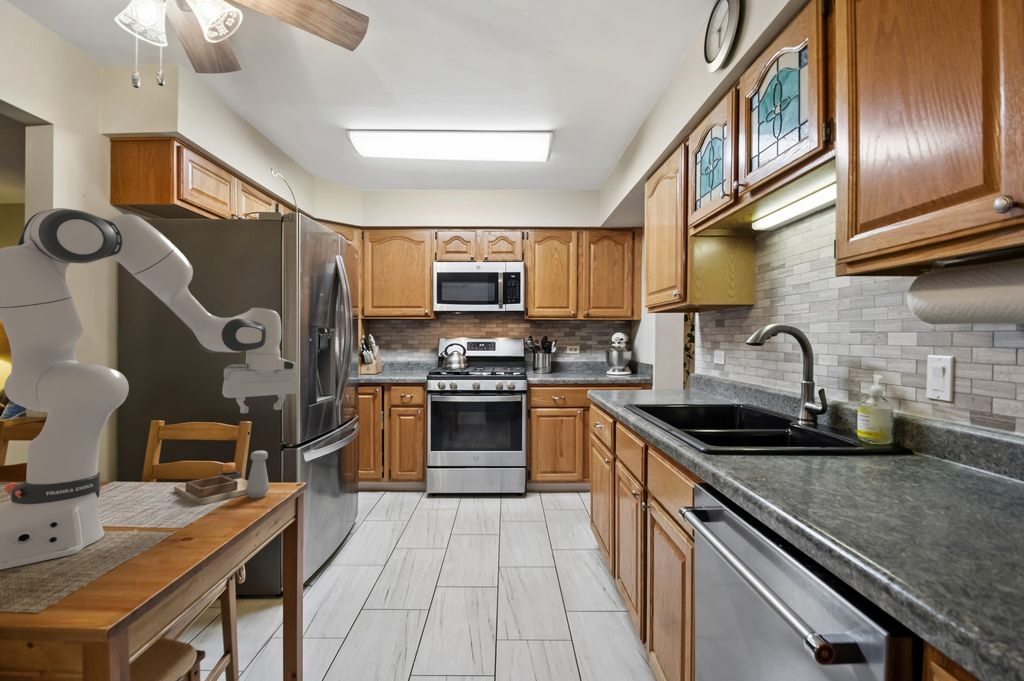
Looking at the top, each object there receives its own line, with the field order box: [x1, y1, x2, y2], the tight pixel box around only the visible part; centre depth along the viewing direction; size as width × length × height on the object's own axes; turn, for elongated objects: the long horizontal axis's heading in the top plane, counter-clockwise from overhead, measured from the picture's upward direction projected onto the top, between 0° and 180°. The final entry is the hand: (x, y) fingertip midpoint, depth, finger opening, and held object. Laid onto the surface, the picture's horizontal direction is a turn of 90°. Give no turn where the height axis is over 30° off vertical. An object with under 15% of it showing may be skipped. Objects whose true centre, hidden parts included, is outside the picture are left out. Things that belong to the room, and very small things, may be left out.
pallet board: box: [173, 470, 248, 506], centre depth 134 cm, size 16×18×4 cm
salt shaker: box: [246, 450, 270, 499], centre depth 131 cm, size 6×6×13 cm
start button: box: [222, 462, 236, 473], centre depth 142 cm, size 3×3×2 cm
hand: (261, 411), depth 131 cm, fingers open, 8 cm apart
